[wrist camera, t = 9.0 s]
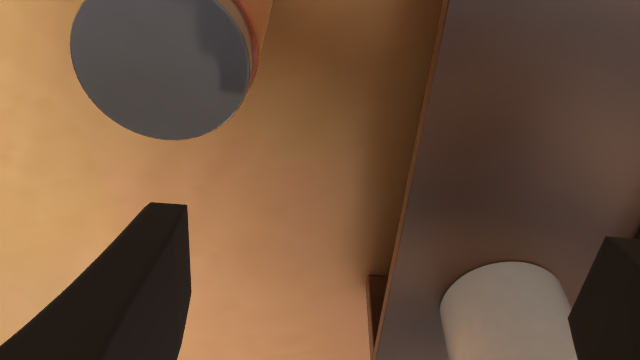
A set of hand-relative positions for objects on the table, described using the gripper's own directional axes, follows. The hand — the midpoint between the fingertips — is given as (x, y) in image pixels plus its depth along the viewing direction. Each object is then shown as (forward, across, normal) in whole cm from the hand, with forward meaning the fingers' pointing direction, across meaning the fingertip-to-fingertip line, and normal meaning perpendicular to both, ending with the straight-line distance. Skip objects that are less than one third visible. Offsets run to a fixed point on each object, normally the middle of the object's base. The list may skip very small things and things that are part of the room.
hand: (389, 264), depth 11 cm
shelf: (+10, -5, +3) cm, 12 cm away
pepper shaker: (+10, +5, -2) cm, 12 cm away
